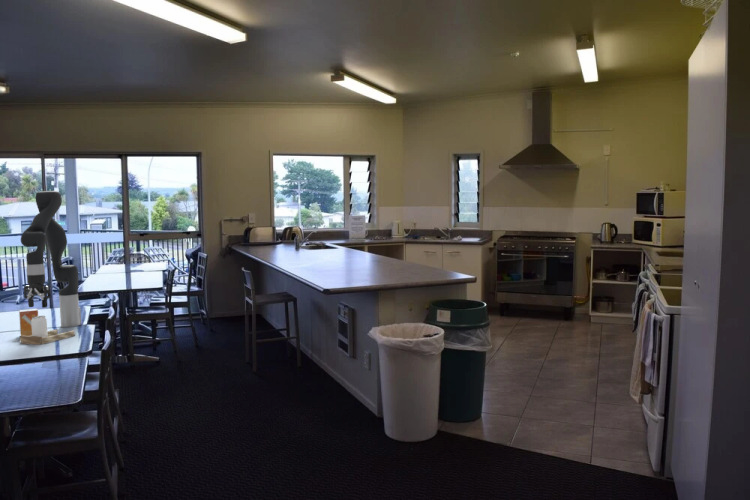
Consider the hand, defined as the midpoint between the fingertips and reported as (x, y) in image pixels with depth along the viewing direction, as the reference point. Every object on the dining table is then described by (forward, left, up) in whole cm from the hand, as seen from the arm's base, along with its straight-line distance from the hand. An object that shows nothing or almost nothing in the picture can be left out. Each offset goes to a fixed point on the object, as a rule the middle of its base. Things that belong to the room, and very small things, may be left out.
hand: (37, 307), depth 282 cm
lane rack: (-5, 0, -17) cm, 17 cm away
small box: (-10, -18, -17) cm, 26 cm away
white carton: (0, 0, -17) cm, 17 cm away
